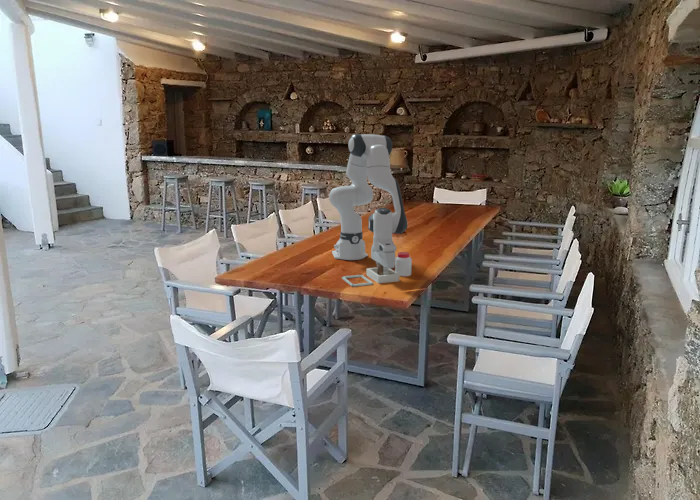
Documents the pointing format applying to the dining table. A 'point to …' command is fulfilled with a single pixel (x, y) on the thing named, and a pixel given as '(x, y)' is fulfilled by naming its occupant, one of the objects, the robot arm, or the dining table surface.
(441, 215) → the dining table surface
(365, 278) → the tray
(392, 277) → the white storage bin
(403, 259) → the pill bottle
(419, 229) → the dining table surface
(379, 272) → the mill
